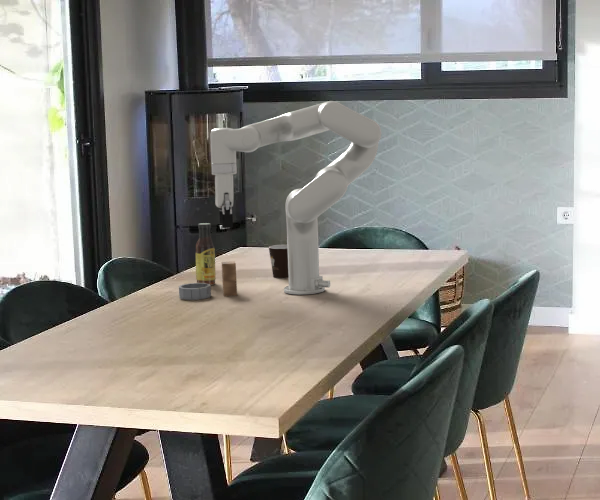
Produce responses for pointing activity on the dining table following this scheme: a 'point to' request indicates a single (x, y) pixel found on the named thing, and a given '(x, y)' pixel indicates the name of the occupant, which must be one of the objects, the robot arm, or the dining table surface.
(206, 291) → the grey faceted dish
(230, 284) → the brown cylinder
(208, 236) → the sauce bottle
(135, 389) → the dining table surface
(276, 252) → the coffee mug
